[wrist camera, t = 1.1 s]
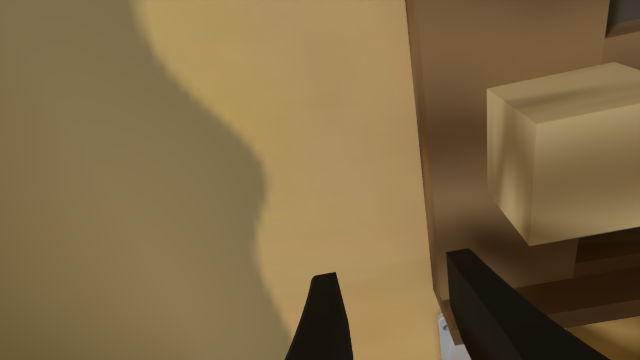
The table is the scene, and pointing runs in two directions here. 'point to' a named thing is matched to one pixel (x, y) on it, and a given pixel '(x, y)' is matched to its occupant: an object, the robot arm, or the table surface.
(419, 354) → the table surface
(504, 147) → the maple block
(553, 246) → the trap board
